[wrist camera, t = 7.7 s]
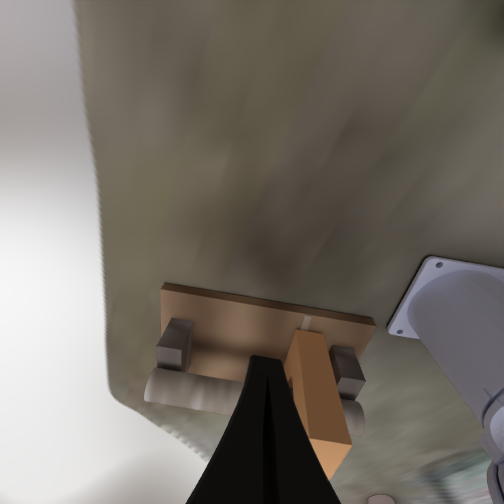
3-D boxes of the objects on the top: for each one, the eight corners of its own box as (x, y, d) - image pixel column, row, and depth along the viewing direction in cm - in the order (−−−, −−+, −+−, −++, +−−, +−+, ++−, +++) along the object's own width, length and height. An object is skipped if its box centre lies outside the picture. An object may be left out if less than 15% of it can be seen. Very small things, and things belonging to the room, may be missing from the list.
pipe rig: (165, 370, 27) (134, 440, 21) (165, 282, 22) (123, 342, 16) (331, 398, 27) (349, 475, 21) (372, 318, 22) (411, 391, 16)
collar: (276, 389, 26) (278, 500, 18) (295, 329, 22) (309, 438, 14) (299, 393, 26) (312, 505, 18) (323, 334, 22) (352, 445, 14)
